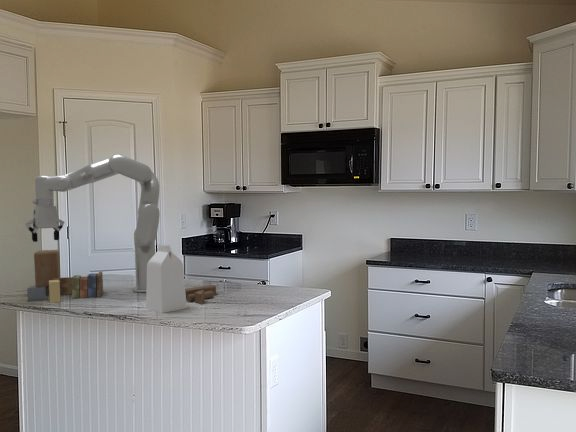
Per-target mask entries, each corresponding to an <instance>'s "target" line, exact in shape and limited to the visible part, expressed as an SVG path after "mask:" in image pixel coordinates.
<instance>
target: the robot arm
mask: <svg viewBox="0 0 576 432" xmlns="http://www.w3.org/2000/svg"><path fill="white" fill-rule="evenodd" d="M119 174H120V175H122V176H123V177H126V178H129V179H131V180H134V181H136V182H137V183H139V185H140V189H141V191H140V199H139V204H138V205H139V206H138V209H137V215H138V216H137V224H136V228H135V229H134V231H133V232H134V233H133V242H134V243H133V245H134V263H135V265H134V266H135V267H134V268H135V287H133V288H132V292H135V293H146V292H147V264H148V262H149V260H150V259H151V258H152V257H153V256H154V255H155V253H156V239H157V236H158V228H159V224H160V223H159V222H160V212H161V211H160V209H159V200H160V199H159V198H160V182H159V180H158V177H157V176H156V174H155V172H153V171H152V169H151V167H150V166H149V165H147V164H146V163H143V162H140V161H138V160H135V159H132V158H130V157H128V156H125V155H123V154H119V153H117V154H114V155H112V156H110V157H107V158H104V159H100V160H98V161H95V162H92V163H89V164H87V165H84V167H82V168H80V169H77V170H75V171H72V172H68V173H66V174H62V175H61V174H60V175H36V176H35V178H34V191H35V200H33V201H32V204H34V207H33V212H32V213H33V214H32V219H31V220H29V221H27V222H25V226H26V229H27V230H28V231H29V232H30V233H31V240H32V242H33V243H37V242H38V241H39V240H38V231H39V229H53V230H54V231H53V240H54V241H59V240H60V231H61V230H62V229H63V226H64V224H65V221H63V220H62V219H60V218H59V213H58V209H57V206H56V205H55V199H54V198H55V196H54V192H62V193H63V192H64V193H65V192H68V191H72V190H74V189H77V188H80V187H82V186H85V185H88V184H93V183H96V182H99V181H102V180H105V179H108V178H110V177H114V176H116V175H119Z"/></svg>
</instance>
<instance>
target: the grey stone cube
mask: <svg viewBox="0 0 576 432" xmlns="http://www.w3.org/2000/svg"><path fill="white" fill-rule="evenodd" d="M26 290H27V302H38V301H39V302H40V301H47V300H48V299H50V296H49V286H48V285H36V286H35V285H30V286H28V287H27V289H26Z"/></svg>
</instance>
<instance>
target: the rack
mask: <svg viewBox="0 0 576 432" xmlns="http://www.w3.org/2000/svg"><path fill="white" fill-rule="evenodd" d="M103 278H104V277H103V271H99V272H98V273H97V272H95V273H89V274H87V276H82V275H81V274H80V275H79V274H77V275H76V274H75V275H73V276H72V277H71V276H69V277H67V276H66V277H60V278H53V280H59V282H60V296H70V295H72V299H75V300H76V299H91V297H94V298H101V296H102V294H104V284H103V283H104V281H103Z"/></svg>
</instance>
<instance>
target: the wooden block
mask: <svg viewBox="0 0 576 432" xmlns="http://www.w3.org/2000/svg"><path fill="white" fill-rule="evenodd" d="M33 260H34V261H33V262H34V263H33V265H34V281H35V283H34V284H35V285H34V286H36V285H48V286H49V280H53V278H61V259H60V251H59V249H45V250H44V249H43V250H37V251H36V252H34V254H33Z"/></svg>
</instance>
